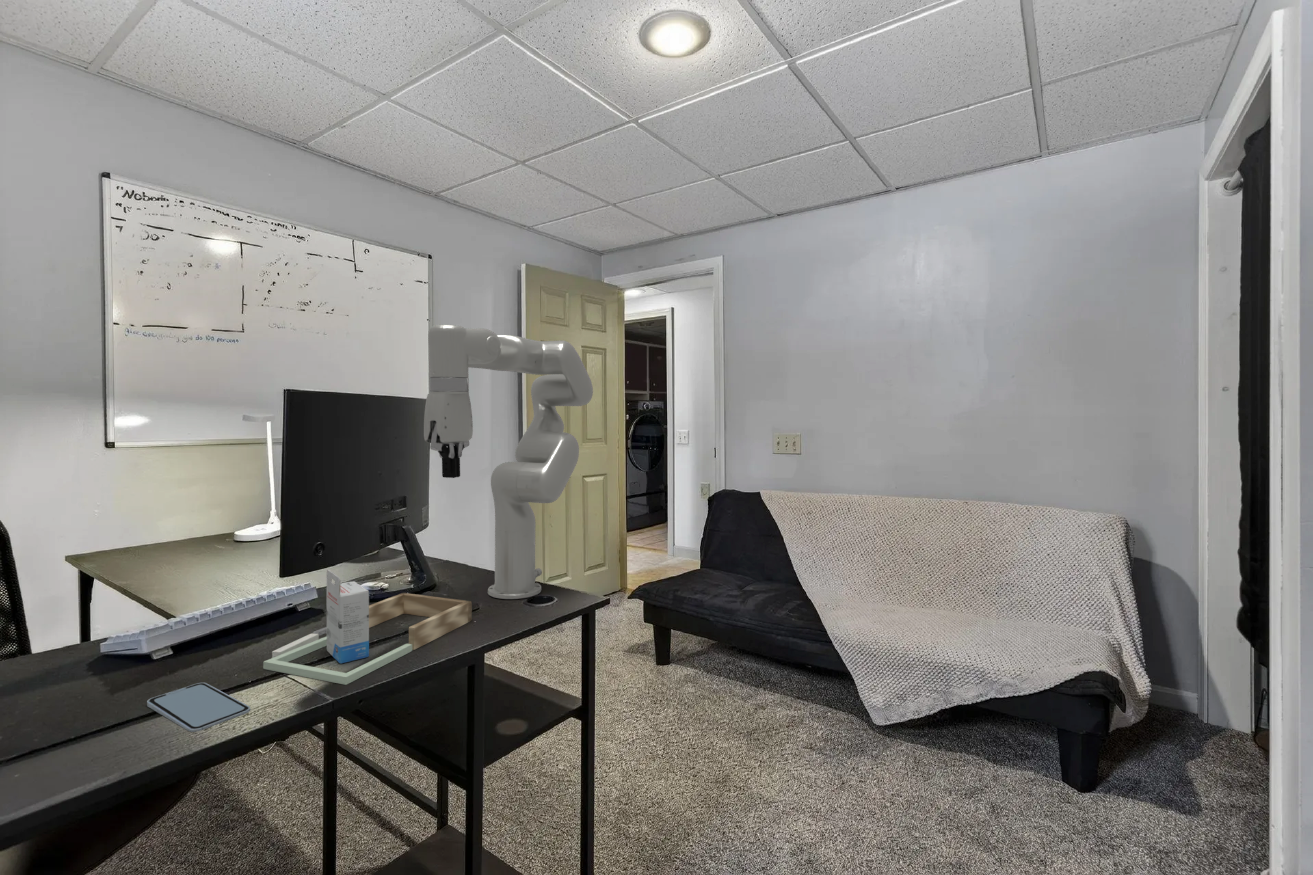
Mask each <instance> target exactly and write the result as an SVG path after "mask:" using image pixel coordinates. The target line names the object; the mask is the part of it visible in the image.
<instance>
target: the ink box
mask: <svg viewBox="0 0 1313 875" xmlns="http://www.w3.org/2000/svg"><path fill="white" fill-rule="evenodd" d="M332 580H333V581H334V582H333V581H332ZM369 605H370V592H369V590H368V589H367V588H365V587H363V586H362V585H360V584H359V583H358V582H356V581H347V582H341V577H340V576H338V575H337V574H335V573H334V571H331V570H330V569H329V568H328V569H327V570H326V627H327V633H326V636H327V646H326V651H327V652H328V653H329V654H330V655H331V656H332V657H333V659H335V661H337V662H338V663H339V664H346V663H349V662H353V661H357V660H361V659H365V658H368V657H370V628H369Z"/></svg>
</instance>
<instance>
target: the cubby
mask: <svg viewBox="0 0 1313 875" xmlns="http://www.w3.org/2000/svg"><path fill="white" fill-rule="evenodd" d="M472 602H473V601H470V600H463V599H456V598H447V597H439V596H432V595H431V596H430V595H423V594H415V593H407V592H401V593H399V594H397V595H393V596H391V597H388V598H385V599H383V600H380V601H378V602H375V603H372V604H369V629H370V628H372V627H375V626H377V625H379V624H382V623H384V622H387V621H389V620H392V619H394V618H397V617H398V616H402V615H403V614H406V615H412V616H419V617H427V618H426V619H424V620H421V621H419V622H417V623H415V624H413V625H410V626H409V627H408V644H412V651H415V650H417V649H419V648H421V647H423V646H424V645H427V644H429V643H430V642H432V641H435V640H437V639H439V638H441V637H442V636H445V635H447V634H448V633H450V632H452V631H454V630H457V629H458V628H460V627H462V626H464V625H466V624H468V623H470V622H472V620H473V619H472V618H473V616H472V615H473V613H472V612H473V610H472V606H473V604H472Z"/></svg>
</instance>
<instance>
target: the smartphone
mask: <svg viewBox="0 0 1313 875" xmlns="http://www.w3.org/2000/svg"><path fill="white" fill-rule="evenodd" d="M146 706H147V707H148V708H150V709H151V710H153V711H155V712H156V713H158V714H159V715H161V716H163V717H165V718H166V719H168V720H170V721H172V722H173V723H175V724H177V725H178V726H180V727H181V728H183V729H185V730H186V731H188V732H190V733H194V732H200V731H203V730H207V729H208V728H211V727H214V726H216V725H219V724H222V723H224V722H227V721H230V720H232V719H235V718H239V717H240V716H243V715H246V714H248V713H250V712H251V706H249V705H248V704H245V703H244V702H242V701H240V700H238V699H236V698H235V697H233V696H231V695H229V694H227V693H225V692H223V691H221V690H220V689H218V688H216V687H215V686H213V685H211V684H210V683H209V684H208V683H207V682H197V683H194V684H190V685H188V686H185V687H182V688H179V689H175V690H172V691H169V692H165V693H163V694H159V695H157V696H154V697H151V698H149V699H148V700H147V701H146Z"/></svg>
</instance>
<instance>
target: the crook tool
mask: <svg viewBox="0 0 1313 875" xmlns="http://www.w3.org/2000/svg"><path fill="white" fill-rule="evenodd" d="M312 634H319V637H320V636H323V635H327V626H325V627H321V628H319V629H317V630H315V631H312Z"/></svg>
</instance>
